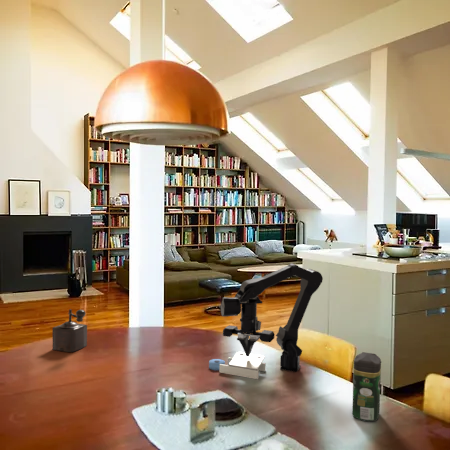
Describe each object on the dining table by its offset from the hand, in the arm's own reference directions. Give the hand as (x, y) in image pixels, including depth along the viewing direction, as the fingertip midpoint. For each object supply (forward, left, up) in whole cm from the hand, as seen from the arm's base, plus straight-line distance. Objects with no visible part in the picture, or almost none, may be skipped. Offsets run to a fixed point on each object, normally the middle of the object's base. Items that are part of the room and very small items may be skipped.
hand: (247, 356), depth 179 cm
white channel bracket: (+2, +1, -6) cm, 6 cm away
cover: (0, +1, -2) cm, 2 cm away
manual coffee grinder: (+75, +7, -6) cm, 76 cm away
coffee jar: (-45, +19, -6) cm, 49 cm away
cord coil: (+12, +1, -6) cm, 14 cm away
